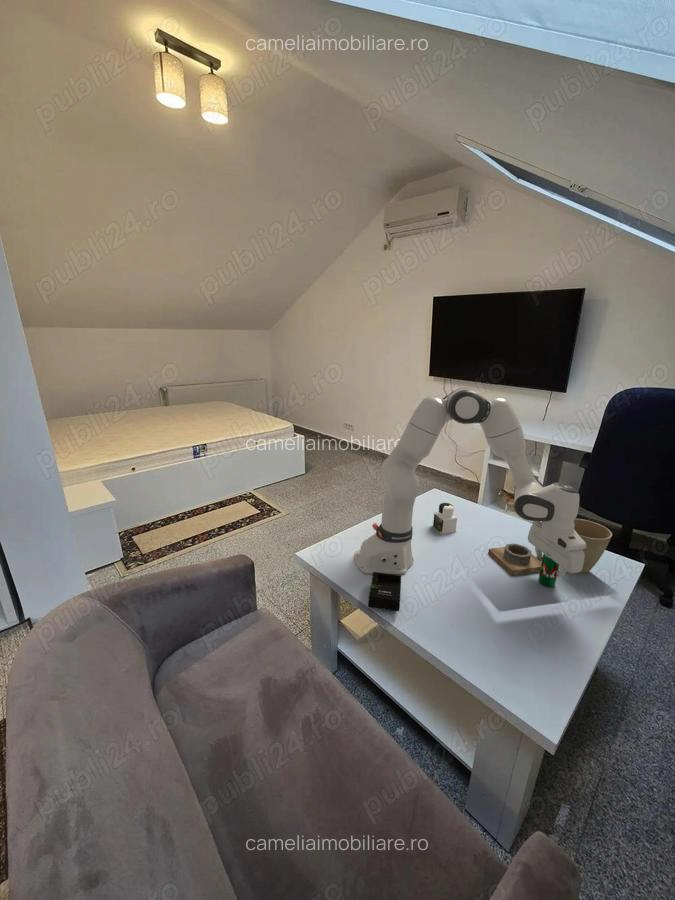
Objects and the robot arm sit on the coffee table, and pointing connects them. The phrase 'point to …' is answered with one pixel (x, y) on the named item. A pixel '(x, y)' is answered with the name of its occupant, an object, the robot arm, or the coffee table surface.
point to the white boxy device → (445, 519)
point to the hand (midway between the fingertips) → (549, 567)
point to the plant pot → (592, 541)
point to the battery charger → (385, 591)
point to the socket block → (516, 559)
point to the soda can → (548, 571)
